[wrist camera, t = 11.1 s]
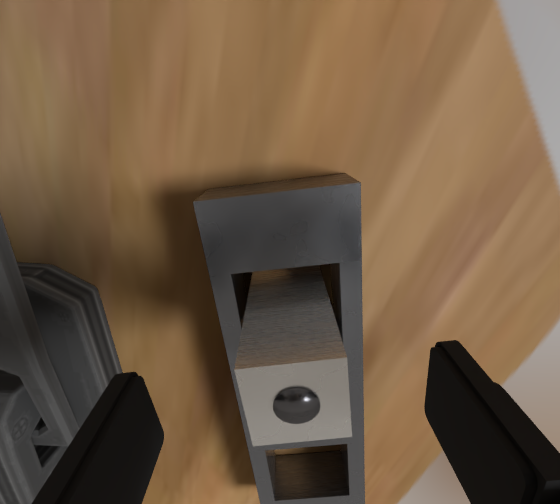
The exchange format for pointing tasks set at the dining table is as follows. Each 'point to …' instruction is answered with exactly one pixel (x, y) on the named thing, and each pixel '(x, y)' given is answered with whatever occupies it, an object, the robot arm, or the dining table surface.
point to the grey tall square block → (292, 360)
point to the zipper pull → (46, 368)
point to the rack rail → (346, 307)
